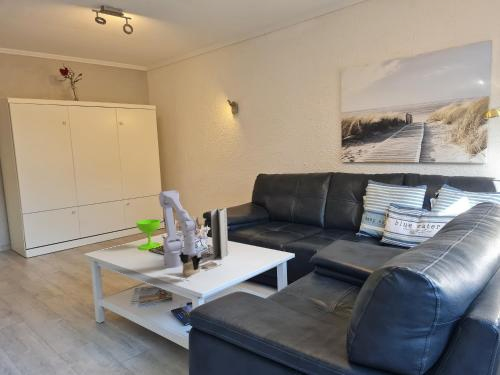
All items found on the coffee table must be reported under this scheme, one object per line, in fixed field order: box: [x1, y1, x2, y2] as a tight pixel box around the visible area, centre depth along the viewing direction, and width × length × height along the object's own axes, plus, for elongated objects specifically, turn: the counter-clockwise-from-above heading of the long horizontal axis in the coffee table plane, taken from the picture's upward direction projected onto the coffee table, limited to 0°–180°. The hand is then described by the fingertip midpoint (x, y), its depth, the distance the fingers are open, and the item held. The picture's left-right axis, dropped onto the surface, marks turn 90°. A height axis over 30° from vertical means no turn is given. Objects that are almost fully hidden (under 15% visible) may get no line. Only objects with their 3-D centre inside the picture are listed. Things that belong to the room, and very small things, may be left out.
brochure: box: [210, 207, 229, 260], centre depth 222 cm, size 14×6×30 cm, turn 168°
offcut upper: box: [201, 261, 218, 270], centre depth 204 cm, size 4×8×1 cm, turn 150°
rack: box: [199, 260, 222, 272], centre depth 205 cm, size 12×15×2 cm
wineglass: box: [136, 218, 163, 251], centre depth 254 cm, size 16×16×18 cm
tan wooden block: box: [181, 260, 201, 278], centre depth 192 cm, size 3×9×7 cm, turn 141°
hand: (190, 268), depth 192 cm, fingers open, 7 cm apart
